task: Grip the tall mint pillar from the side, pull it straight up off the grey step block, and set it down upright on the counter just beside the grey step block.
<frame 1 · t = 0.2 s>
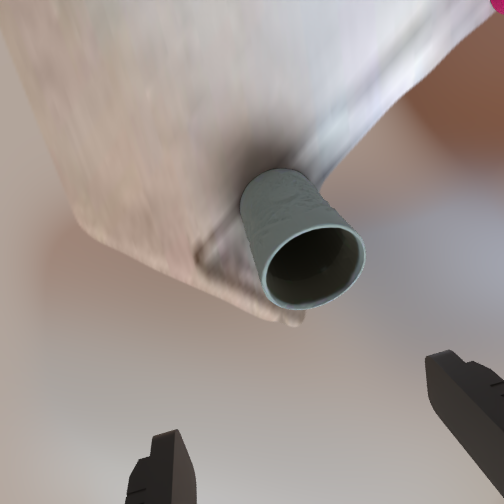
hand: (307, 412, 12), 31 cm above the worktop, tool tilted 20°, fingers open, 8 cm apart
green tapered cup: (277, 202, 45), on the worktop
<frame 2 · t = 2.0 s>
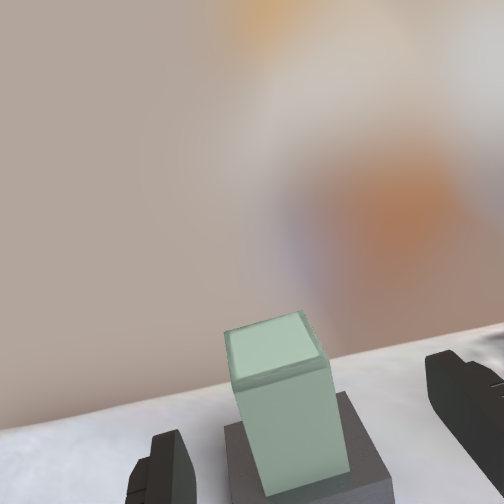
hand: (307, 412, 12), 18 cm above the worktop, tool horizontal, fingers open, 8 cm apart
grey step block: (307, 487, 29), on the worktop
tall mint pillar: (297, 448, 28), point 4 cm above the worktop, touching grey step block
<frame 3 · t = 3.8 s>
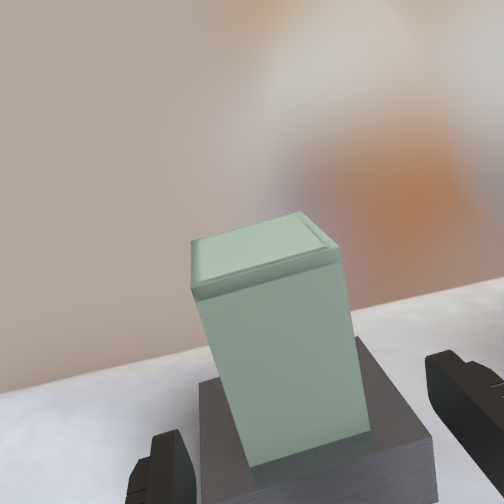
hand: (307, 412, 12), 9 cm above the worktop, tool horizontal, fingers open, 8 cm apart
grey step block: (309, 461, 22), on the worktop
tall mint pillar: (295, 405, 20), point 4 cm above the worktop, touching grey step block
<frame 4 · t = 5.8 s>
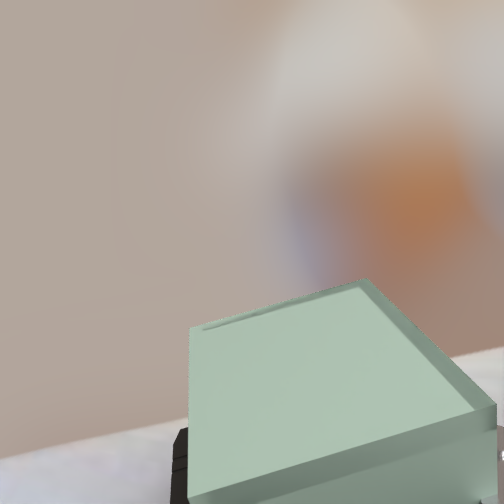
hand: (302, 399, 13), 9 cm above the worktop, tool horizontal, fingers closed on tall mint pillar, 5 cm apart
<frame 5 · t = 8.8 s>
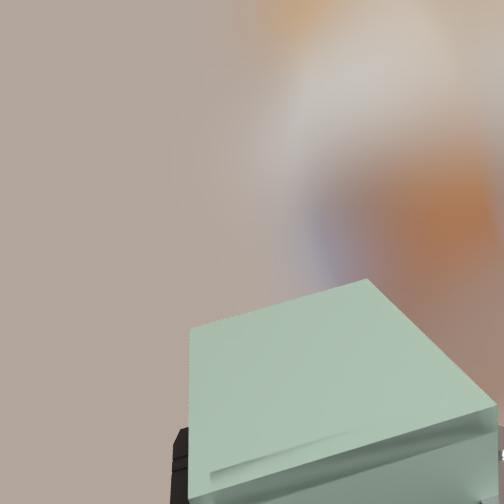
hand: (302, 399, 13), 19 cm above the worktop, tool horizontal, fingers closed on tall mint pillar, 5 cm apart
when the fingers open (7 cm above the worktop, at t = 11.6 s): tall mint pillar drops 1 cm, on the worktop.
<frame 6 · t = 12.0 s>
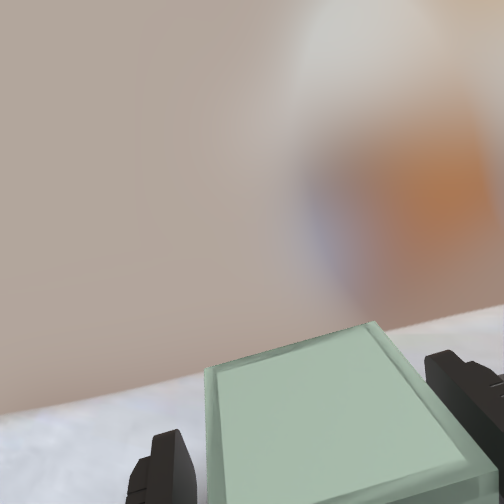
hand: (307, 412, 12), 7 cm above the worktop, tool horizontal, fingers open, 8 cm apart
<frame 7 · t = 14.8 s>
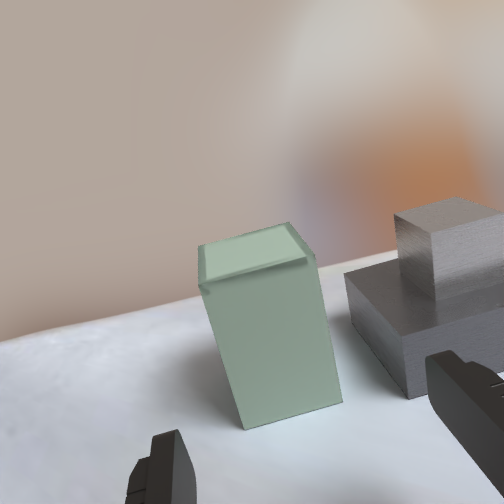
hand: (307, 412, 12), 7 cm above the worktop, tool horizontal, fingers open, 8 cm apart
grey step block: (451, 333, 25), on the worktop
tall mint pillar: (283, 382, 24), on the worktop
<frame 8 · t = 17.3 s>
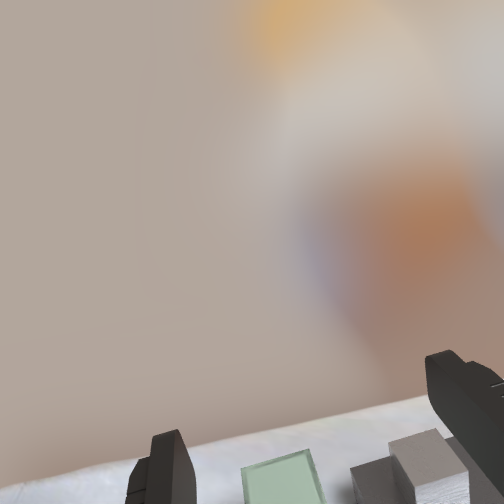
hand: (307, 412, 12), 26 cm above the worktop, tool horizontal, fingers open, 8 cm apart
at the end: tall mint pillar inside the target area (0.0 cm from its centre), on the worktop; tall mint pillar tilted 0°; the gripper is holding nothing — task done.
